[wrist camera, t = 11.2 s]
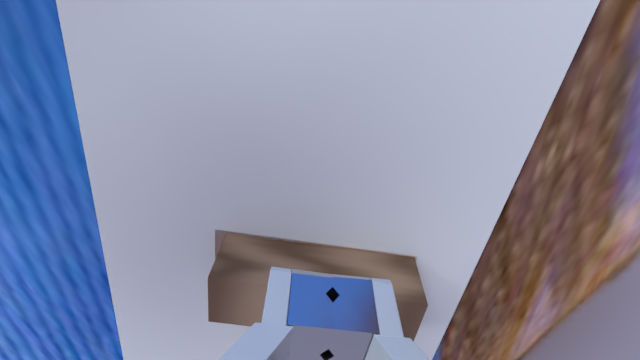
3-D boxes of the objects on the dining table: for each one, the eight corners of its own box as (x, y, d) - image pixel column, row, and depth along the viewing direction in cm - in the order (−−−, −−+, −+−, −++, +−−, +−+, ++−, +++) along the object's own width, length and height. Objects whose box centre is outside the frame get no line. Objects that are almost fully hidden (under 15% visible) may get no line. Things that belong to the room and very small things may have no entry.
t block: (224, 354, 34) (209, 405, 30) (226, 233, 27) (207, 278, 23) (375, 372, 34) (380, 423, 30) (414, 257, 27) (428, 305, 23)
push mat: (131, 367, 37) (126, 377, 36) (49, -105, 18) (35, -109, 17) (406, 399, 38) (408, 409, 37) (593, -13, 19) (606, -12, 18)
